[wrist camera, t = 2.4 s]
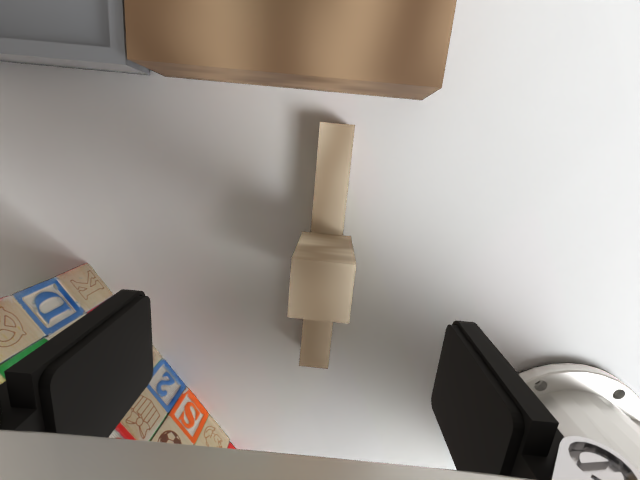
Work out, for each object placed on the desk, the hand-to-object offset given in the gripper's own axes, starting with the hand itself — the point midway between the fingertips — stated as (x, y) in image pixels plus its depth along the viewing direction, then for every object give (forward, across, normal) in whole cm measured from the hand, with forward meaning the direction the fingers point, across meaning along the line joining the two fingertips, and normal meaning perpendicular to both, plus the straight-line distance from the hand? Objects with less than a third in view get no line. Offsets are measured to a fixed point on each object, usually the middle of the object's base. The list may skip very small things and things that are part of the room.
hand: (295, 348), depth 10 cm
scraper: (+13, -1, +1) cm, 13 cm away
